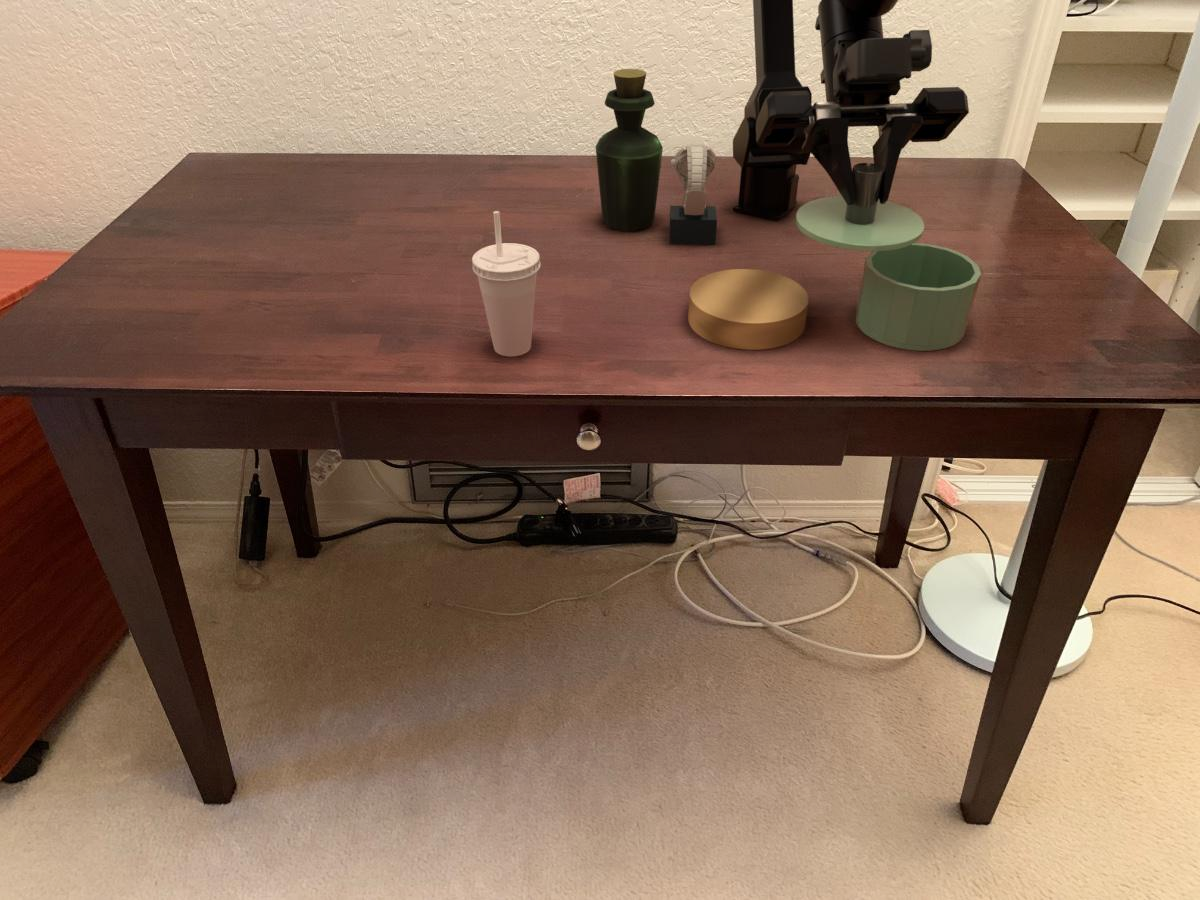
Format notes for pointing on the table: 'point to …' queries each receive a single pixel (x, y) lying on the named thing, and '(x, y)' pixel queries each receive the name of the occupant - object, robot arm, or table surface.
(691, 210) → the watch
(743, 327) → the disc
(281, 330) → the table surface
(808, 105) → the robot arm
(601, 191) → the potion bottle
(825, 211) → the lid
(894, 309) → the green round open container
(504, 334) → the smoothie
